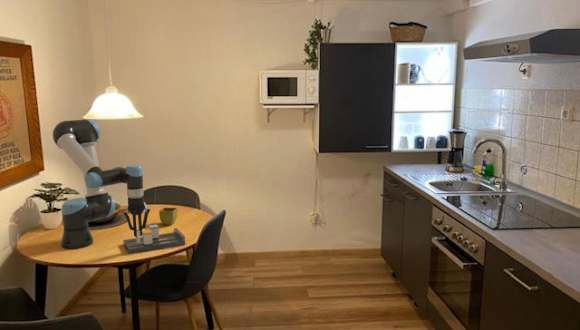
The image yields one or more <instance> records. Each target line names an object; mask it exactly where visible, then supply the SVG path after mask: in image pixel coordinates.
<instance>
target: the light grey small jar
mask: <svg viewBox="0 0 580 330" xmlns="http://www.w3.org/2000/svg"><path fill="white" fill-rule="evenodd" d="M148 230H151V231H152V238H159V235H160V227H159V225H158V224H152V225H151V224H150V225H148Z"/></svg>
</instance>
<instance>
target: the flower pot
mask: <svg viewBox="0 0 580 330" xmlns="http://www.w3.org/2000/svg"><path fill="white" fill-rule="evenodd" d="M178 208H179V207H162V208H161V209H160V210H158V216H159V219H160V222H161V224H162V225H163V226H164V225H165V226H172V225H174V224H175V222H176V220H177V216H178Z"/></svg>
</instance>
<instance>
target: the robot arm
mask: <svg viewBox="0 0 580 330" xmlns="http://www.w3.org/2000/svg"><path fill="white" fill-rule="evenodd" d="M100 130H101V129H100V128H99V125H98V124H97V123H96V122H95V121H94V120H92V119H85V118H84V119H75V120H63V121H60V122H58V123H57V124H56V126H54V128H53V131H52V139H53V142H54V144H55V145H56V146H57V147H58V149H60V150H63V151H64V153H66V155H67V156H68V158H70V159H71V162H73V164H75V166H77V168H78V169H79V170H80V171H81V172H82V174H83V179H84V183H85V188H86V189H85V190H86V194H85V196H84V197H77V198H72V199H68V200H66V201H64V203H63V204H62V205H61V214H62V215H61V216H62V224H63V225H62V226H63V234H62V238H61V241H60V244H61V248H63V249H65V250H66V249H67V250H75V249H82V248H87V247H89V246H91V245H92V244H93V243H94V238H93V235H92V233H91V231H90V228H89V223H90V222H93V221H97V220H100V219H106V218H109V217H111V216H113V214H114V212H115V210H116V201H115V199H114V198H113V196H112V195H111V194H109V192H108V191H107V190H105V188H104V187H106V186H113V185H118V184H126V189H127V190H126V192H127V197H128V198H127V205H128V206H127V209H126V210H124V211H122V214H123V216H125V218H126V222H127V224H128V227H129V229H130V231H133V236H134V238H136V242H137V243H140V237H142V231H143V229H146V227H147V222H148V217H149V213H150V211H151V208H148V207H147V208H146V207H145V205H144V202H145V197H144V176H143V174H144V173H143V167H142V165H139V164H130V165H127V166H126V167H122V166H115V167H113V168H111V169H105V170H103V169H102V168H101V167H100V164H99V163H100V162H99V159H98V158H99V157H98V154H97V150H96V146H97V144H98V140H99V139H100V136H101V131H100ZM144 209H145V211H144ZM143 211H144V212H143ZM129 213H130V214H131V215H132V222H131V218H130V216H129ZM143 213H144V214H143ZM142 214H143V221H142ZM137 221H138V223H137ZM137 224H138V228H137Z"/></svg>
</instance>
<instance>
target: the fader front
mask: <svg viewBox="0 0 580 330" xmlns="http://www.w3.org/2000/svg"><path fill="white" fill-rule="evenodd" d="M141 237H142V238H143V244H144V245H147V244H152V231H151V230H149V229H148V230H142V236H141Z"/></svg>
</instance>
